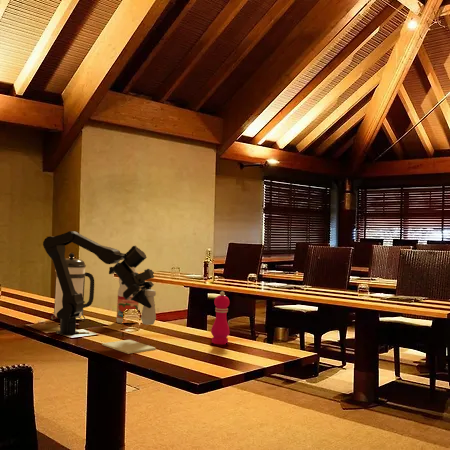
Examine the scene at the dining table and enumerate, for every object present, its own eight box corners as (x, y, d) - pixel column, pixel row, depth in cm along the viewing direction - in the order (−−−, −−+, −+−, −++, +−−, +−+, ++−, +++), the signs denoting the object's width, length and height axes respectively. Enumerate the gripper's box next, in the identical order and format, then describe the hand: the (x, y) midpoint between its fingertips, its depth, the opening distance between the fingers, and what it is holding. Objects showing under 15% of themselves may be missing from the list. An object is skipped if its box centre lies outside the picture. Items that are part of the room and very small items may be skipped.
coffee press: (82, 324, 234) (86, 254, 234) (45, 321, 234) (49, 252, 234) (92, 317, 251) (96, 252, 251) (58, 315, 251) (62, 251, 252)
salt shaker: (137, 322, 207) (140, 288, 207) (151, 322, 210) (153, 288, 210) (144, 325, 202) (146, 290, 202) (158, 324, 205) (160, 290, 205)
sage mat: (102, 344, 196) (102, 343, 196) (129, 341, 204) (129, 339, 204) (128, 353, 185) (128, 352, 185) (155, 349, 193) (155, 347, 193)
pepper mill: (232, 342, 212) (234, 291, 212) (224, 345, 205) (227, 293, 205) (215, 340, 215) (218, 289, 215) (207, 343, 208) (210, 291, 208)
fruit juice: (135, 320, 249) (139, 259, 249) (138, 324, 240) (142, 261, 240) (115, 320, 246) (118, 259, 246) (117, 324, 237) (120, 260, 237)
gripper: (132, 263, 198) (159, 296, 195) (150, 260, 216) (175, 290, 214) (111, 282, 199) (137, 315, 197) (130, 278, 218) (154, 308, 215)
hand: (152, 306), depth 206 cm, fingers closed on salt shaker, 3 cm apart
